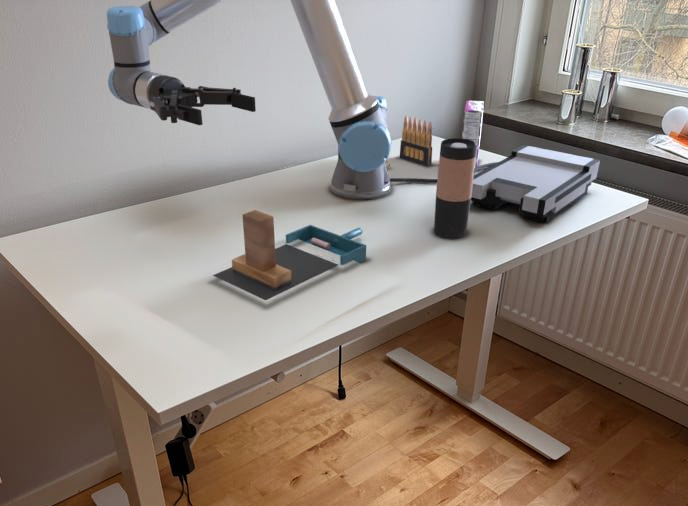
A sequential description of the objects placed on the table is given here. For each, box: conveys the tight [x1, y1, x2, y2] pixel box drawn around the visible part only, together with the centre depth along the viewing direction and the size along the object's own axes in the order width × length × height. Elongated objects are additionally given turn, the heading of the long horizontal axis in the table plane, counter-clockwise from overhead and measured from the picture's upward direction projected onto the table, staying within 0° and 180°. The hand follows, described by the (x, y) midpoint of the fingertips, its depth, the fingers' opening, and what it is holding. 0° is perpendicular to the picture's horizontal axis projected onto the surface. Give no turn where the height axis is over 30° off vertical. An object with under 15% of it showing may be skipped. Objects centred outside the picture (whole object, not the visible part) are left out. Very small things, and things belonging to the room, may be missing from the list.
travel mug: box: [433, 137, 477, 240], centre depth 152 cm, size 8×8×20 cm
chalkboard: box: [212, 243, 339, 301], centre depth 139 cm, size 20×15×2 cm
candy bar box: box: [461, 100, 485, 169], centre depth 193 cm, size 11×5×16 cm, turn 168°
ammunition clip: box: [398, 115, 433, 167], centre depth 197 cm, size 11×2×12 cm, turn 43°
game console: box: [471, 144, 601, 224], centre depth 172 cm, size 21×32×8 cm, turn 142°
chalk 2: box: [314, 252, 335, 262], centre depth 143 cm, size 1×5×1 cm, turn 48°
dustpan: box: [285, 224, 367, 266], centre depth 149 cm, size 15×16×3 cm
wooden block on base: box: [231, 209, 291, 290], centre depth 132 cm, size 4×12×12 cm, turn 48°
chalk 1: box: [311, 238, 331, 251], centre depth 150 cm, size 1×5×1 cm
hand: (228, 111), depth 137 cm, fingers open, 13 cm apart
